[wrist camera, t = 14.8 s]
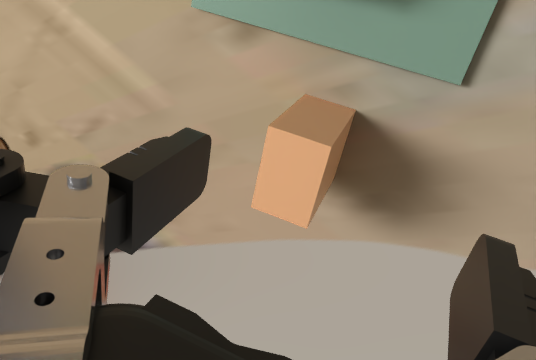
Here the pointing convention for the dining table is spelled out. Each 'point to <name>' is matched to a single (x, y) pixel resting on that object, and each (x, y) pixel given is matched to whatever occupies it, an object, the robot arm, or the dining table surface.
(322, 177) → the block
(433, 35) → the board
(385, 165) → the dining table surface
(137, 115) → the dining table surface
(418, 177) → the dining table surface
